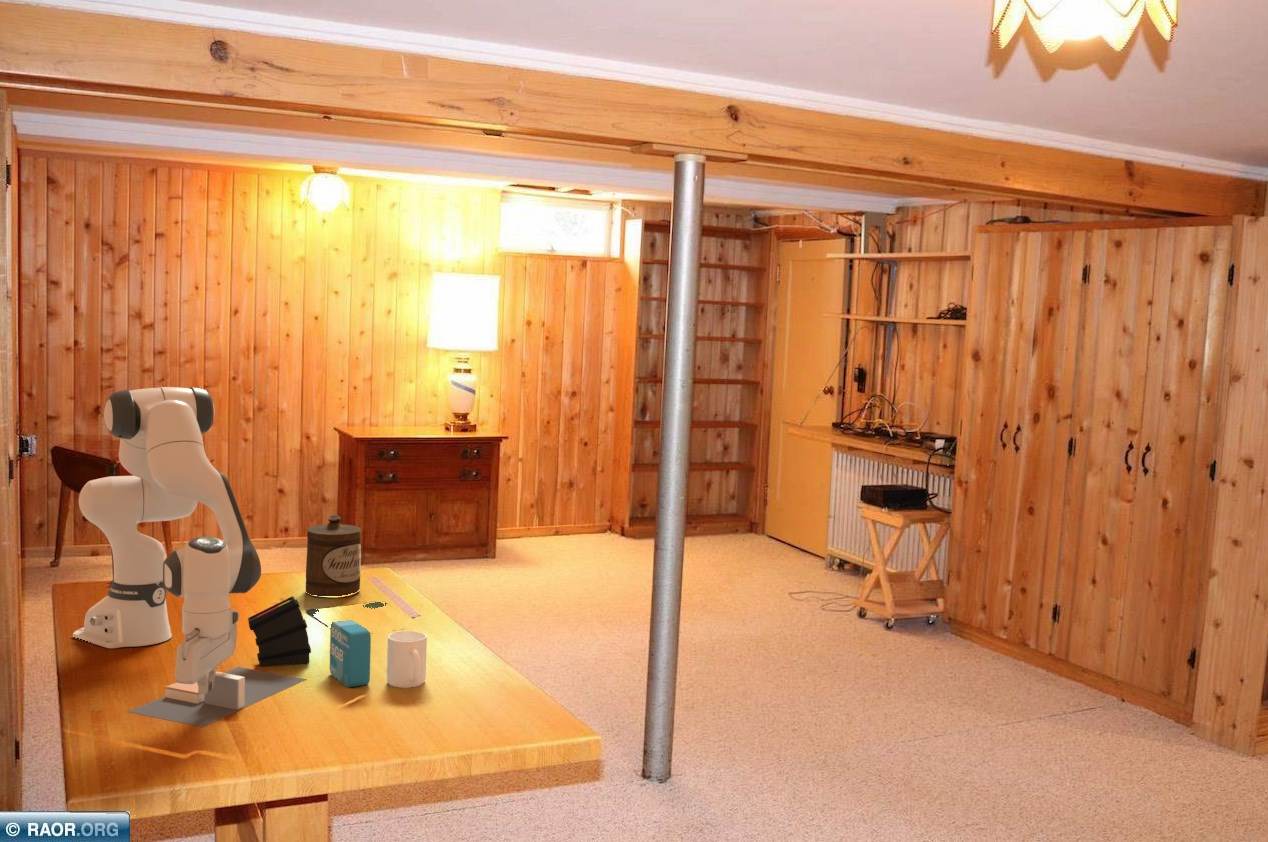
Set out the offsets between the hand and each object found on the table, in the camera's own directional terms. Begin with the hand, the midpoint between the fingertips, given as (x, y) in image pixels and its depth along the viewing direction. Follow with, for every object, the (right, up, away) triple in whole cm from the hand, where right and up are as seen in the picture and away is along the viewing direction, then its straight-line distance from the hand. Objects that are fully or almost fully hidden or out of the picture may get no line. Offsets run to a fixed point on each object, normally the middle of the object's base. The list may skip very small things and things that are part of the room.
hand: (205, 691), depth 223 cm
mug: (+35, -4, +24) cm, 42 cm away
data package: (+22, -4, +26) cm, 34 cm away
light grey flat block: (+2, -4, +5) cm, 7 cm away
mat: (-1, -4, +11) cm, 12 cm away
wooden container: (-2, +4, +100) cm, 100 cm away
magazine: (+4, -2, +34) cm, 35 cm away
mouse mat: (+13, +1, +74) cm, 75 cm away
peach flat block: (-7, -2, +7) cm, 10 cm away
